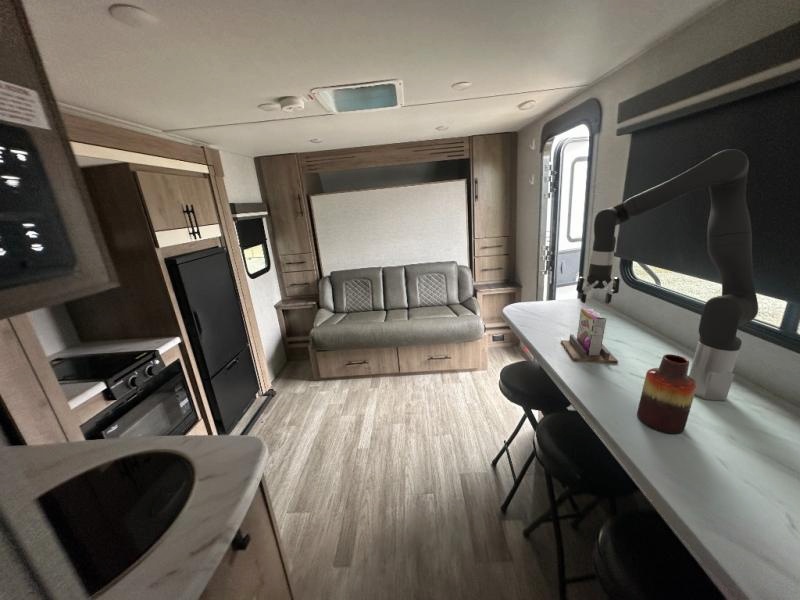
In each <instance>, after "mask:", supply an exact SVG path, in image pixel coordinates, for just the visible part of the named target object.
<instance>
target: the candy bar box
mask: <svg viewBox="0 0 800 600" xmlns="http://www.w3.org/2000/svg"><path fill="white" fill-rule="evenodd" d="M606 323H607V317H605V316H604V315H602V314H601V313H599V312H598V311H597V310H595V309H593V308H580V313H579V320H578V328H577V333H576V339H577V340H578V341H579V343H580V344H581V345H582V347H583V348H584V349H585V350H586V352H587V355H588V356H600V353H601V347H602V344H603V340H604V334H605V328H606Z"/></svg>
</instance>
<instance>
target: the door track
mask: <svg viewBox="0 0 800 600" xmlns="http://www.w3.org/2000/svg"><path fill="white" fill-rule="evenodd" d="M560 343H562V344H561V345H562V346H564V347H563V348H564V349H566V350H565V351H566V353H567V352H568V353H567V354H568V356H569V355H570V356H569V358H570V359H571V360H572V361H573V362H582V361H585V362H586V363H600V364H601V363H603V364H614V365H615V364H618V363H619V360H618V359H617V358H616V357H615V356H614V355H613V354H612V352H610V351H609V349H608V348H607V347H606V346H605V345H604V344H603V343H602V347H601V353H600V356H588V355H587V352H586V350H585V349H584V348H583V347H582V345H581V344H580V343H579V341H578V340H577V337H576V336H575V334H571V333H570V334H569V340H567V339H561V340H560ZM585 362H584V363H585Z"/></svg>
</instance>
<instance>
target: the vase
mask: <svg viewBox="0 0 800 600" xmlns="http://www.w3.org/2000/svg"><path fill="white" fill-rule="evenodd" d="M689 365H690V361H689V359H687V358H685V357H683V356H681V355H677V354H671V353H670V354H667V353H666V354H664V355H663V356H662V359H661V361H660V364H659V367H652V368H649V369H648V370H647V371H646V374H645V378H644V382H643V385H642V386H643V387H642V391H641V395H640V400H639V403H638V407H637V412H636V416H637V418H638V420H639V421H640V423H642V424H643V425H644V426H646V427H647V428H649V429H651V430H653V431H656V432H659V433H663V434H665V435H680V434H682V433H683V432H684V431H685V428H686V425H687V422H688V419H689V414H690V412H691V408H692V405H693V401H694V399H695V398H694V397H695V396H696V395H695V391H696V388H697V384H696V382H695V381H694V379H692V378H691V377H689V374H688V372H689V367H690V366H689Z"/></svg>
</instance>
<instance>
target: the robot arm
mask: <svg viewBox="0 0 800 600" xmlns="http://www.w3.org/2000/svg"><path fill="white" fill-rule="evenodd" d="M749 169H750V162H749V158H748V156H747V154H746V153H745V152H743V151H742V150H740V149H735V148H733V149H732V148H730V149H724V150H721V151H718V152H716V153H715V154H713V155H711V156H710V157H708V158H706V159H705V160H703V161H702V162H700V163H698V164H696V165H694V166H693V167H692V168H689V169H688V170H686V171H685V172H682V173H680V174H679V175H677V176H675V177H673V178H671V179H669V180H667V181H664V182H662V183H661V184H658V185H656V186H654V187H651V188H649V189H647V190H645V191H642V192H640V193H638V194H636V195H634V196H631V197H629V198H628V199H626V200H625V201H624V202H621V203H619V204H617V205H614V206H612V207H608V208H604V209H601V210H600V211H598V213H597V214H596V215H595V218H594V223H593V234H594V235H593V236H594V240H593V243H592V250H591V255H590V259H589V266H588V267H589V268H588V274H587V276H586V277H585V276H584V277H583V276H578V279H577V285H576V289H575V290H576V292H578V293H580V302H581V303H582V304H586V301H587V293H589V292H590V291H591V290H595V289H597V290H598V289H599V290H600V289H601V290H603V289H604V290H605V291H606V293H605V299H604V303H605V304H606V305H607V304H610V303H611V302H612V296H613V295H614V294H618V293H619V290H620V282H621V280H620V277H617V276H613V277H612V272H613V271H612V270H613V266H614V261H615V248H616V243H617V237H616V236H615V232H616V226H618V225H620V224H621V225H622V224H623V223H625V222H627V221H630V220H631V219H634V218H637V217H639V216H642V215H645V214H648V213H650V212H653V211H655V210H657V209H659V208H662V207H663V206H665V205H667V204H668V203H671V202H672V201H674V200H676V199H679V198H680V197H682V196H685V195H686V194H689V193H691V192H694V191H696V190H699V189H702V188H705V187H708V188H709V195H710V202H711V203H710V212H709V216H708V223H707V233H706V236H707V238H706V239H707V241H706V243H707V252H708V255H709V258H710V260H711V262H712V263H713V265H714V267H715V269H716V270H717V272H718V274H719V276H720V280H721V295H718V296H714V297H711V298H709V299H708V300H707V301H706V302H705V303H704V305H703V308H702V311H701V315H700V321H699V324H698V334H699V338H698V339H699V340H698V342H697V346H696V349H695V353H694V356H693V360H692V362H691V367H690V370H689V374H688V376H689V377H691V378H692V379H694V381H695V382H696V384H697V388H696V391H695V395H694V396H697V397H700V398H701V399H703V400H707V401H709V400H711V401H721V402H722V401H723V402H724V401H725V402H726V401H727V398H728V396H729V392H730V389H731V386H732V383H733V380H734V377H735V374H734V373H733V370H734V368H735V365H736V361H737V359H738V356H739V352H740V350H741V347H742V339H741V338H739V336H737V332H738V328H739V325H743V324H746V323H751V321H753V320H754V319H755V318H756V317H757V315H758V313H759V302H758V296H757V292H756V287H755V282H754V281H755V280H754V273H753V271H754V269H753V268H754V266H753V265H754V264H753V250H752V249H753V236H752V235H753V234H752V233H753V232H752V224H751V218H750V217H751V216H750V212H749V209H748V205H747V196H746V193H747V181H748V174H749ZM585 283H587V284H585ZM610 283H612V289H611V286H609V284H610ZM584 284H585V285H584ZM583 286H584V287H583Z"/></svg>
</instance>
